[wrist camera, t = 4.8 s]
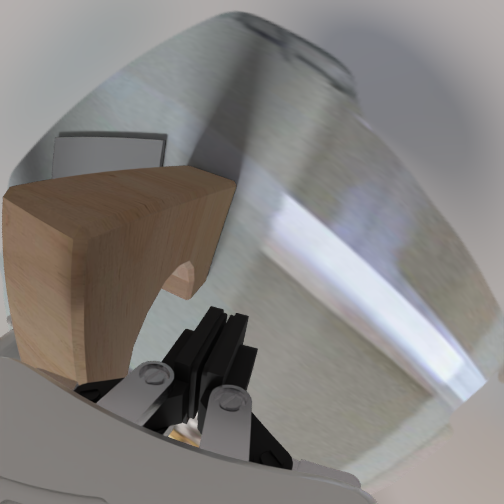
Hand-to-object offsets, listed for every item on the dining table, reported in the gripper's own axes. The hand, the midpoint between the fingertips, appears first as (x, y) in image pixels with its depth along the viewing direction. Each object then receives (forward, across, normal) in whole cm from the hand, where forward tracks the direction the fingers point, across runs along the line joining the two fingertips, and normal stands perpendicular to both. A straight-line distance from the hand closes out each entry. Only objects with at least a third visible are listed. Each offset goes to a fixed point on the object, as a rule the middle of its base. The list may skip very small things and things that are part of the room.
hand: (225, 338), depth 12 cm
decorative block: (+16, +8, 0) cm, 18 cm away
